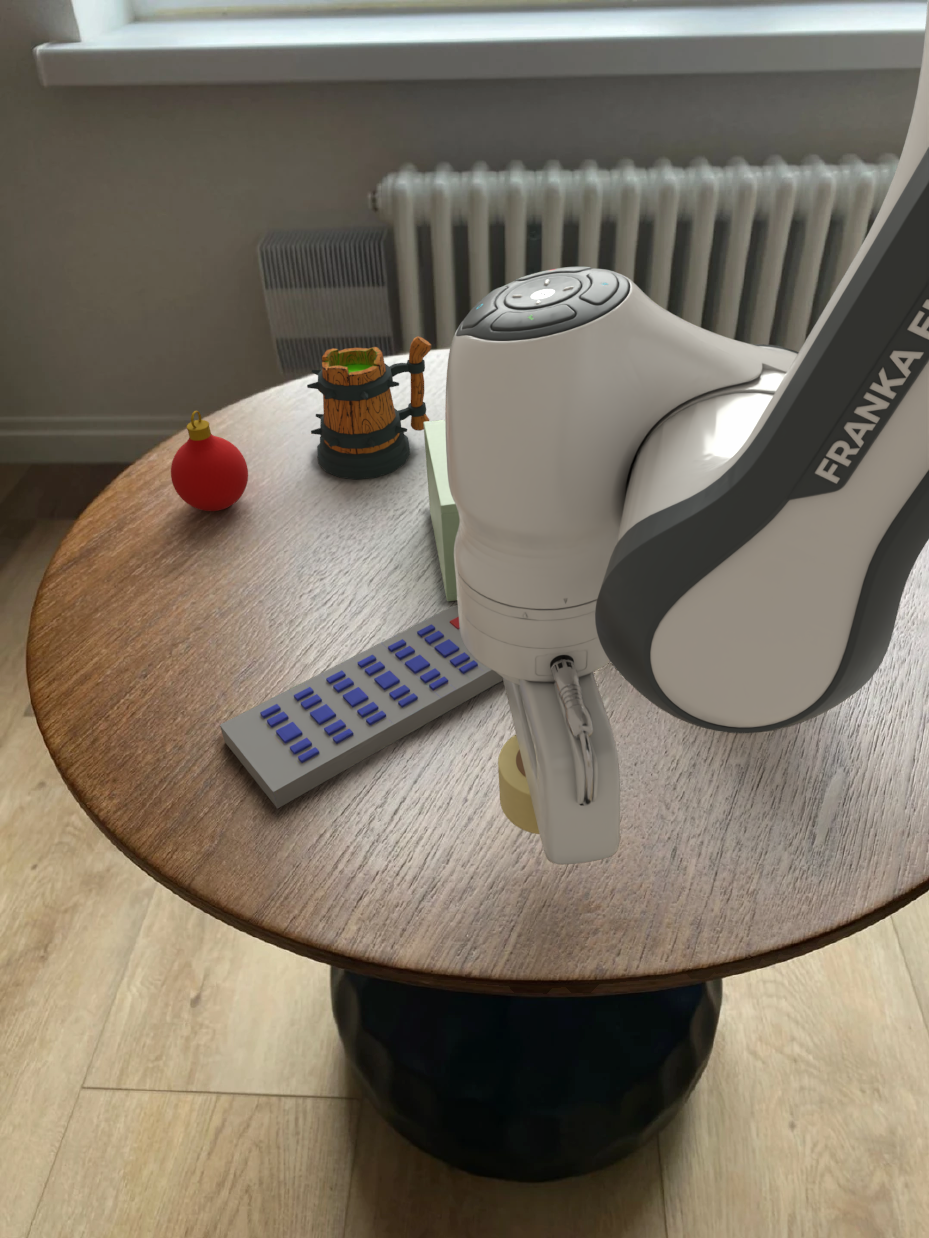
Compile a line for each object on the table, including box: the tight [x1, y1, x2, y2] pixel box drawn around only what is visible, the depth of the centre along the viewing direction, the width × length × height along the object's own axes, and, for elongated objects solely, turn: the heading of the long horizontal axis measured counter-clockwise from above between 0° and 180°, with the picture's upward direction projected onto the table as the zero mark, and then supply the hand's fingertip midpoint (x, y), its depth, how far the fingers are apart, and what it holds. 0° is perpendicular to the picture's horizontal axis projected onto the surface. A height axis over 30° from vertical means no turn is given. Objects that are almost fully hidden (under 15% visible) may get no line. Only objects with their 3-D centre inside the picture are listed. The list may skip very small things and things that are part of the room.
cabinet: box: [423, 419, 460, 602], centre depth 83 cm, size 16×14×10 cm
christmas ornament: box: [170, 410, 249, 512], centre depth 90 cm, size 7×7×10 cm
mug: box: [306, 336, 432, 480], centre depth 96 cm, size 13×10×12 cm
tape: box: [497, 734, 540, 835], centre depth 58 cm, size 6×6×4 cm
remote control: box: [219, 605, 503, 809], centre depth 71 cm, size 8×23×2 cm, turn 127°
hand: (544, 778), depth 58 cm, fingers closed on tape, 5 cm apart
